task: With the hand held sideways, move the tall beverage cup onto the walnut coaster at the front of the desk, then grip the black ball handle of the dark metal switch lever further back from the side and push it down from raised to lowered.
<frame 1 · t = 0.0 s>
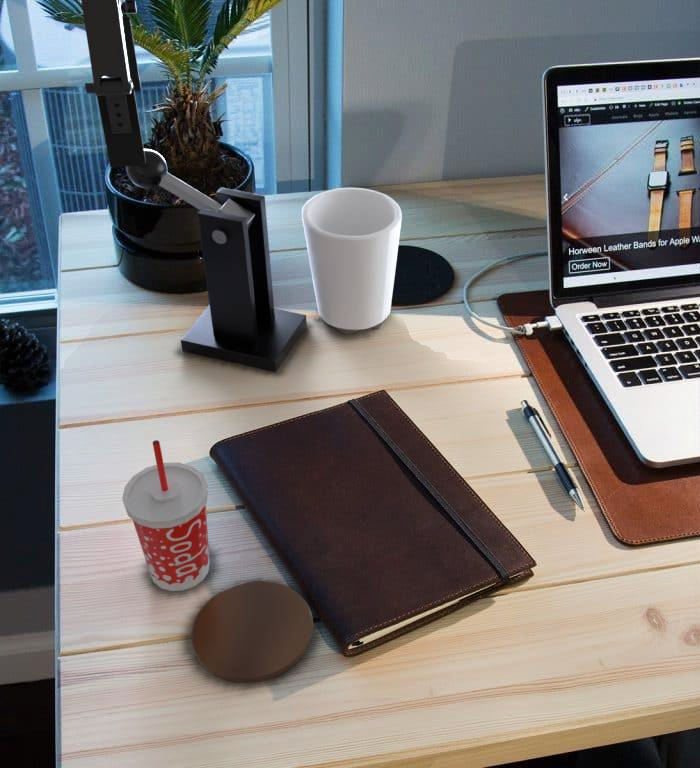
hand: (126, 125, 88), 24 cm above the table, tool pointing down, fingers open, 13 cm apart
beverage cup: (180, 570, 84), on the table
cup: (354, 316, 111), on the table
switch lever: (188, 194, 97), point 16 cm above the table, hinge at 25.0°
coaster: (253, 632, 80), on the table
switch bracket: (246, 338, 107), on the table
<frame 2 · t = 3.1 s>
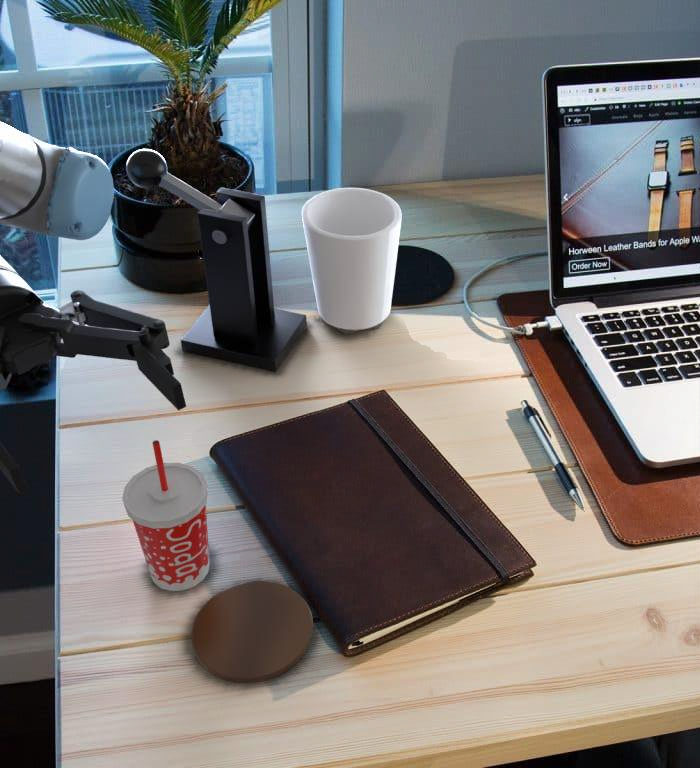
hand: (103, 437, 82), 9 cm above the table, tool horizontal, fingers open, 13 cm apart
nothing on the table moved.
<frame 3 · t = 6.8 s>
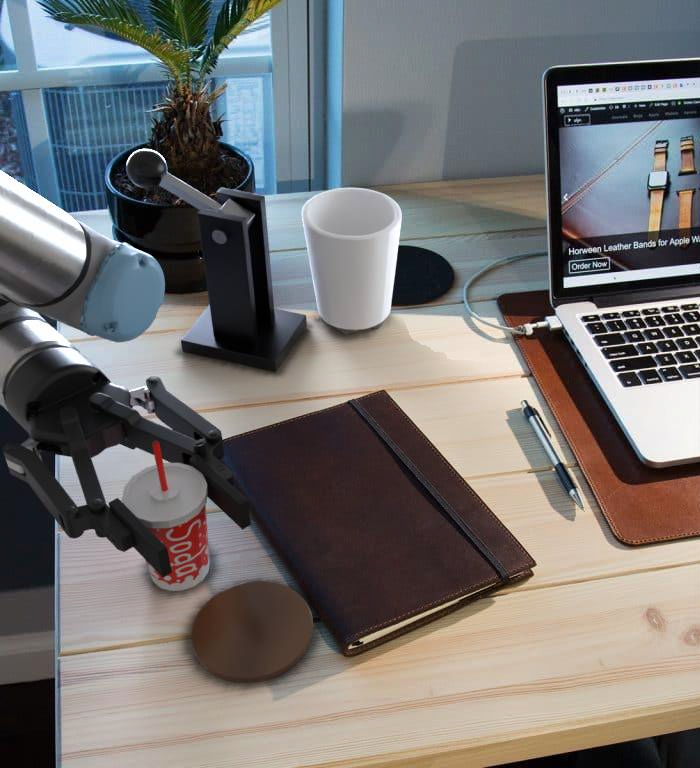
hand: (205, 538, 76), 8 cm above the table, tool horizontal, fingers closed on beverage cup, 6 cm apart
beverage cup: (180, 570, 84), on the table, touching gripper
everything else where it was.
when the fingers open (9 cm above the table, at t = 13.1 s): beverage cup stays where it is, resting on coaster.
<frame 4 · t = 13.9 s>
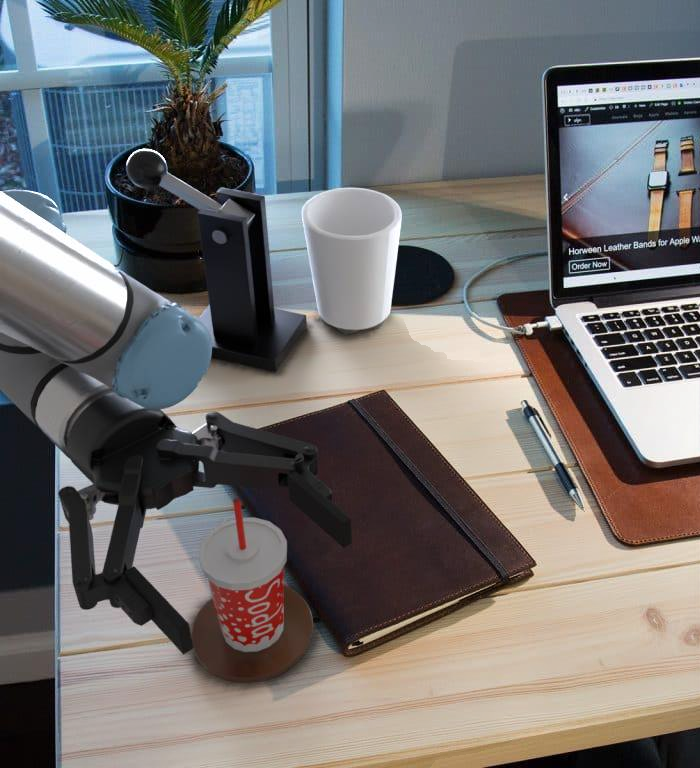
hand: (271, 583, 72), 9 cm above the table, tool horizontal, fingers open, 13 cm apart
beverage cup: (253, 628, 79), resting on coaster
everything else where it was.
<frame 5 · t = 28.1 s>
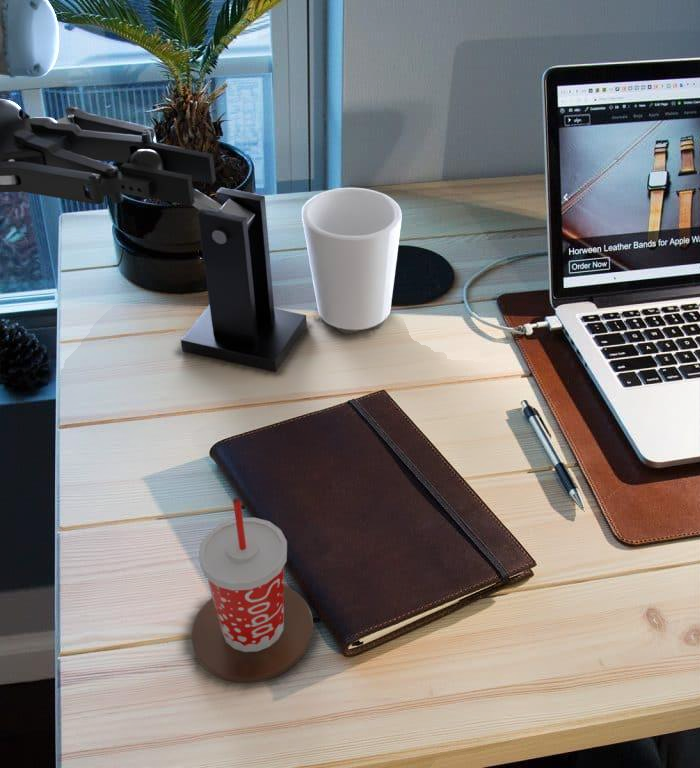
hand: (201, 179, 96), 18 cm above the table, tool horizontal, fingers closed on switch lever, 4 cm apart
switch lever: (188, 194, 97), point 16 cm above the table, hinge at 25.0°, touching gripper
everything else where it was.
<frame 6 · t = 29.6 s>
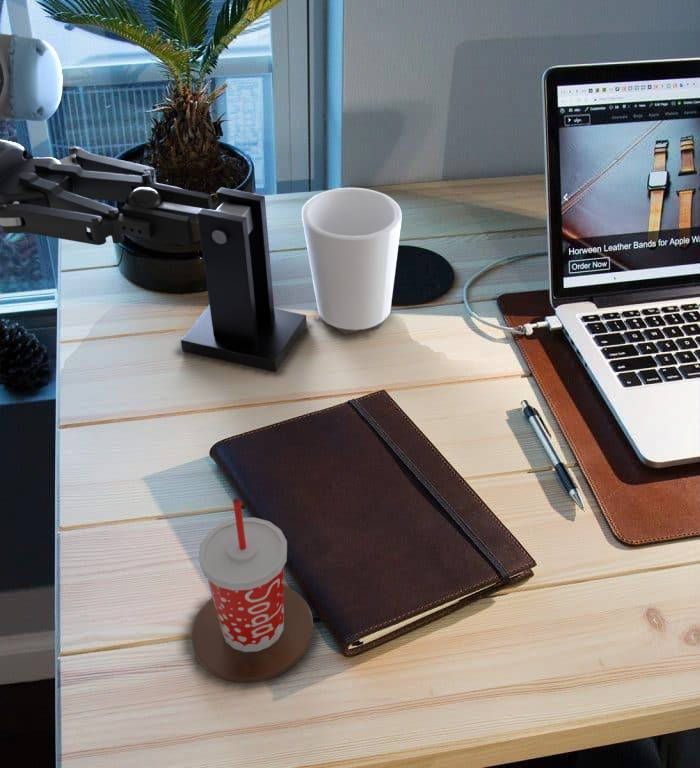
hand: (200, 220, 99), 13 cm above the table, tool horizontal, fingers closed on switch lever, 4 cm apart
switch lever: (187, 213, 98), point 14 cm above the table, hinge at -2.2°, touching gripper
everything else where it was.
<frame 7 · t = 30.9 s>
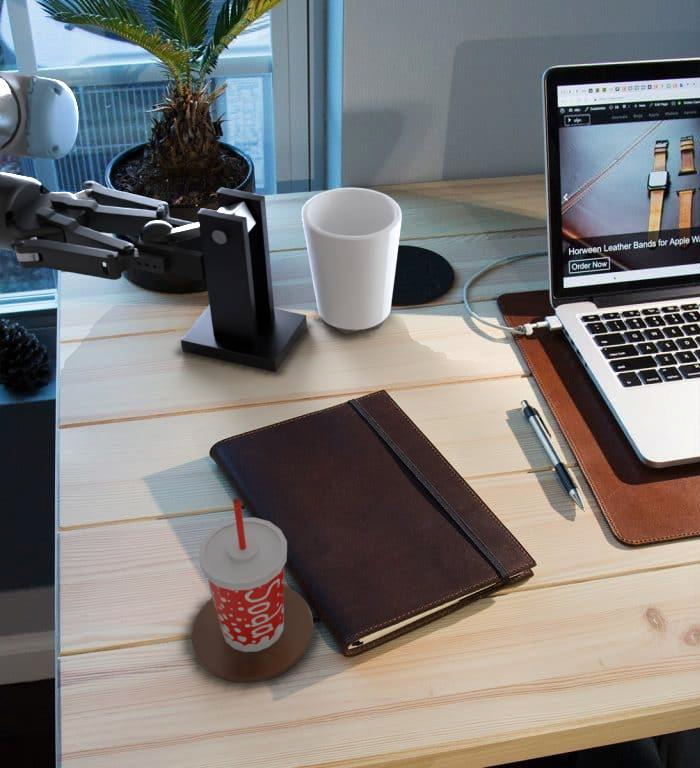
hand: (213, 255, 101), 10 cm above the table, tool horizontal, fingers closed on switch lever, 4 cm apart
switch lever: (193, 230, 99), point 12 cm above the table, hinge at -25.2°, touching gripper
everything else where it was.
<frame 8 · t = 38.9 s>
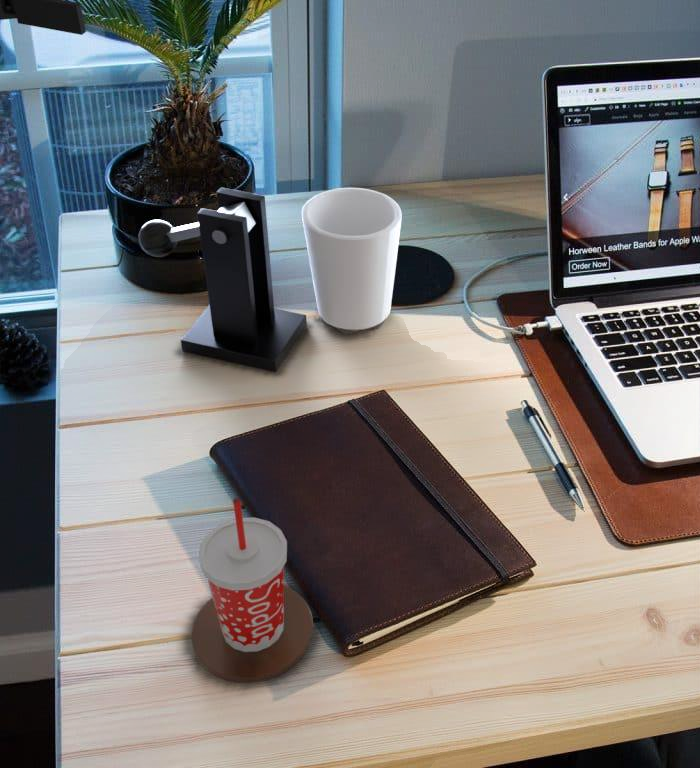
hand: (39, 46, 91), 28 cm above the table, tool horizontal, fingers open, 13 cm apart
switch lever: (193, 230, 99), point 12 cm above the table, hinge at -24.7°
everything else where it was.
at the end: switch lever at -25° (first picture: +25°); beverage cup inside the target area on the coaster (0.0 cm from its centre), point 0.4 cm above the coaster's base; beverage cup tilted 0° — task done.
